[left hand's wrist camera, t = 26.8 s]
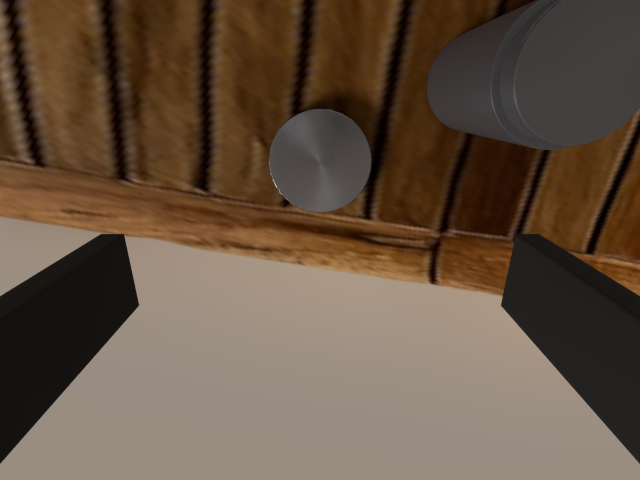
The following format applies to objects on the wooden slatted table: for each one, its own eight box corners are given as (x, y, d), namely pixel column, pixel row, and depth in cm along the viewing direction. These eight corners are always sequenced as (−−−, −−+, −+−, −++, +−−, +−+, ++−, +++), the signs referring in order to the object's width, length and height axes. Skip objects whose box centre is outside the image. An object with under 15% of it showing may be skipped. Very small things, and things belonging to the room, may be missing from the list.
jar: (541, 61, 33) (711, 33, 19) (482, 147, 36) (591, 180, 22) (463, 9, 32) (583, -66, 17) (408, 103, 35) (472, 107, 20)
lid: (268, 107, 35) (265, 108, 33) (371, 107, 35) (374, 108, 33) (273, 207, 38) (271, 212, 36) (367, 206, 38) (369, 212, 36)
